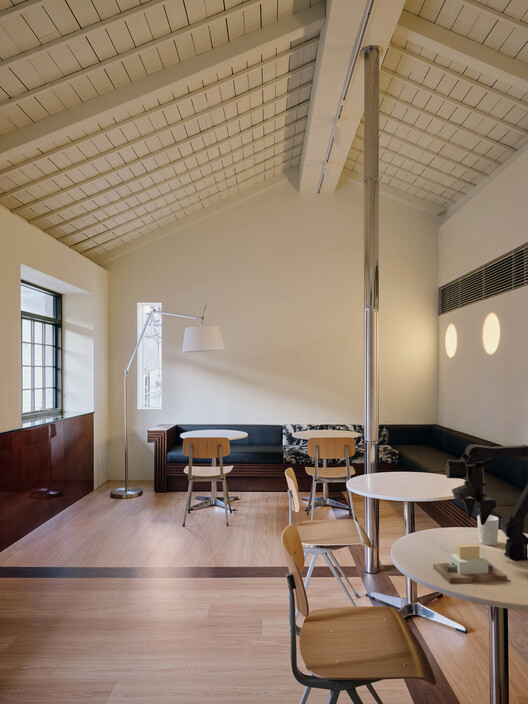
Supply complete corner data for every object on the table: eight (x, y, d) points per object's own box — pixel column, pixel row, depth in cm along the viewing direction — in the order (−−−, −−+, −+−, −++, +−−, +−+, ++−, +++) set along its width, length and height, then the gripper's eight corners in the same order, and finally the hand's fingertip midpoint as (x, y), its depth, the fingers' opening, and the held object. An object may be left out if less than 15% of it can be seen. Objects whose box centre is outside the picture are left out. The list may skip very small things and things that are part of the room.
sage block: (477, 564, 173) (476, 541, 173) (488, 573, 166) (487, 549, 166) (449, 566, 172) (449, 542, 172) (459, 574, 165) (459, 550, 165)
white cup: (473, 540, 201) (472, 515, 202) (489, 538, 204) (488, 513, 204) (487, 547, 194) (486, 521, 194) (503, 544, 196) (503, 519, 196)
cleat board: (487, 565, 176) (487, 557, 176) (507, 580, 164) (506, 571, 164) (433, 568, 174) (433, 559, 174) (449, 582, 162) (449, 573, 162)
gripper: (443, 474, 194) (444, 514, 194) (467, 485, 175) (468, 529, 175) (470, 473, 195) (471, 513, 195) (497, 484, 177) (498, 528, 176)
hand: (476, 520), depth 185 cm, fingers open, 9 cm apart
